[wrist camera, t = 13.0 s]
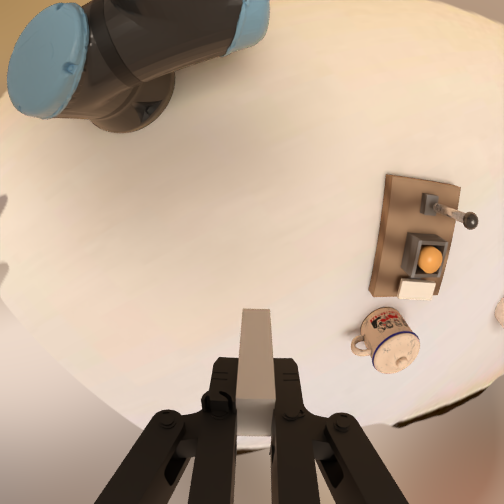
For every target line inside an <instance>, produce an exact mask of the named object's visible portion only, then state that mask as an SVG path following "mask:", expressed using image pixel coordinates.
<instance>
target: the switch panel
mask: <svg viewBox="0 0 504 504" xmlns="http://www.w3.org/2000/svg"><path fill="white" fill-rule="evenodd" d="M460 189H461V187H458V186H455V185H451V184H445V183H440V182H434V181H428V180H422V179H415V178H409V177H402V176H395V175H387V174H386V181H385V190H384V199H383V208H382V215H381V223H380V230H379V236H378V243H377V249H376V254H375V260H374V266H373V271H372V276H371V281H370V286H369V291H370V293H371V294H372V296H373V297H395V296H397V293H398V289H399V285H400V281H401V278H404V279H416V280H429V281H434V282H435V283H436V285H435V289H434V292H433V295H438V292H439V289H440V286H441V282H442V278H443V275H444V271H445V267H446V263H447V259H448V255H449V251H450V246H451V242H452V237H453V232H454V227H455V221H456V220H454V219H452V218H450V217H447V216H445V215H442V214H440V213H437V212H435V211H434V209H433V206H434V204H436V203H439V204H442V205H444V206H447V207H450V208H453V209H455V210H458V203H459V196H460ZM421 245H432V246H433V247H435V248H436V249H438V250H439V251H440V252H441V254H442V263H441V266H440V267H439V269H438V270H437V271H435V272H434V273H430V274H429V273H426V272H424V271H423V270H422V269H421V268H420V267H419V266H418V265H417V263H418V258H419V254H420V249H421Z"/></svg>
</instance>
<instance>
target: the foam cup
mask: <svg viewBox="0 0 504 504" xmlns="http://www.w3.org/2000/svg"><path fill="white" fill-rule="evenodd" d="M495 317H496V318H497V320H498V321H499V323H500V324H501V325H502V327H503V328H504V297H503V298H502V299H501V300H500V302H499V303H498V305H497V307H496V309H495Z"/></svg>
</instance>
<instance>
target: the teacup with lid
mask: <svg viewBox="0 0 504 504" xmlns="http://www.w3.org/2000/svg"><path fill="white" fill-rule="evenodd" d="M361 341H364V343H365V345H366V347H367V349H366V350H361V349H358V348H357V347H356V346H355V345H356V343H358V342H361ZM419 349H420V342H419V338H418V336H417V335H416V334H415V333H413V332H412V330H411V329H410V327H409V326H408V325H407V323H406V322H405V320H404V319H403V318H402V316H401V315H400V313H399V312H398V311H397V310H395V309H393V308H381V309H378V310H376V311H374V312H373V313H371V314H370V315H369V316H368V317H367V318H366V319H365V321H364V322H363V324H362V327H361V335H360V336H357V337H355V338H354V339H353V340H352V343H351V350H352V352H353V353H354V354H355V355H358V356H369V355H370V356H371V358H372V363H373V366H374V368H375V369H376V370H378V371H379V372H381V373H385V374H391V373H396V372H399V371H401V370H403V369H405V368H406V367H407V366H409V365H410V364H411V363H412V362H413V361H414V359H415V358H416V356H417V355H418V352H419Z"/></svg>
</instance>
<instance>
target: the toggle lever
mask: <svg viewBox="0 0 504 504" xmlns="http://www.w3.org/2000/svg"><path fill="white" fill-rule="evenodd" d="M433 209H434V211H435V212H437V213H440V214H442V215H445V216H447V217H450V218H452V219H454V220H457V221H459V222H462V223H463V224H464V226H465V227H466V228H467V229H469V230H472V229H475V228H476V227H477V225H478V217H477V216H476V214H475V213H473V212H467V213H463V212H461V211H458V210H455V209H453V208H450V207H447V206H444V205H442V204H439V203H436V204H434V206H433Z"/></svg>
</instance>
